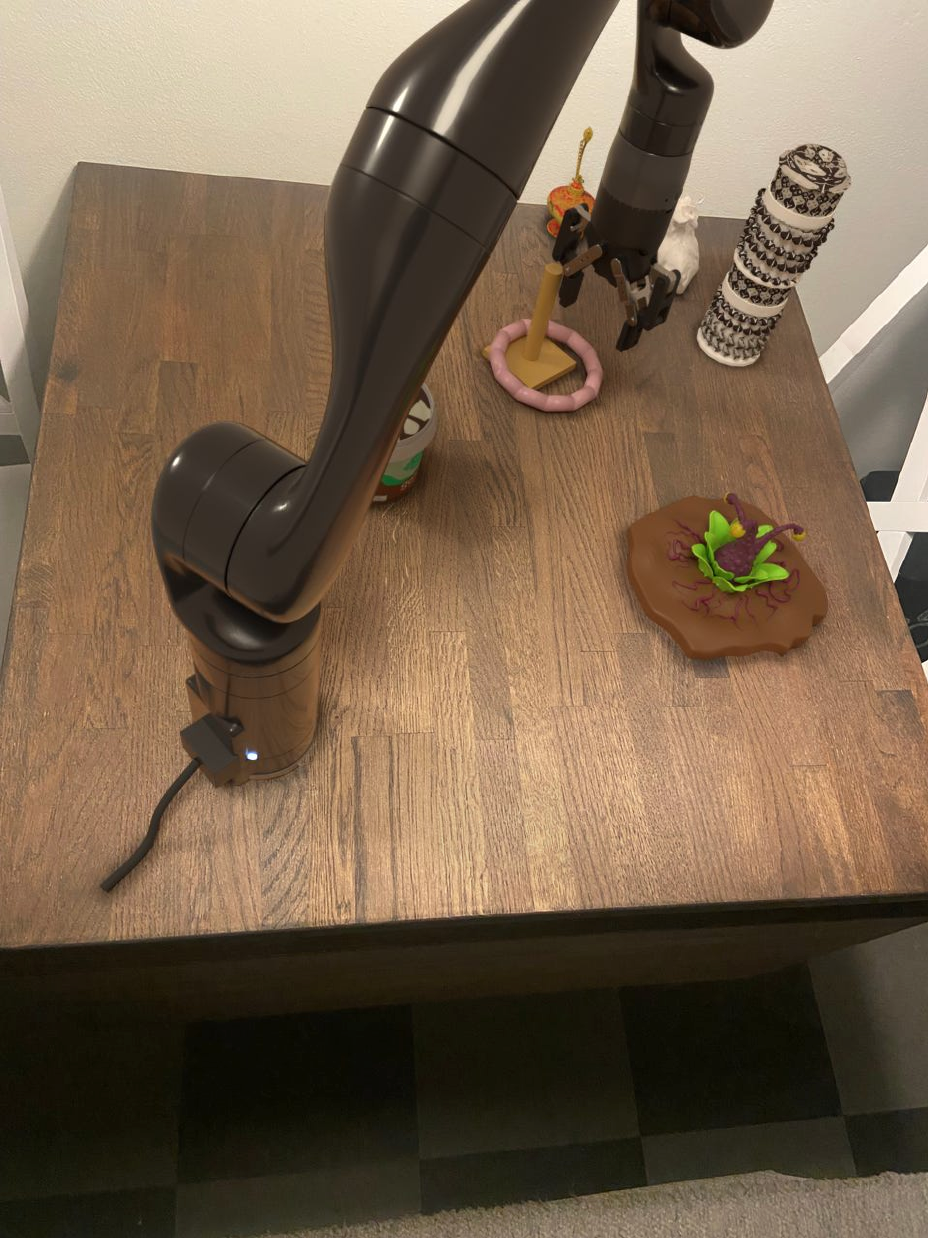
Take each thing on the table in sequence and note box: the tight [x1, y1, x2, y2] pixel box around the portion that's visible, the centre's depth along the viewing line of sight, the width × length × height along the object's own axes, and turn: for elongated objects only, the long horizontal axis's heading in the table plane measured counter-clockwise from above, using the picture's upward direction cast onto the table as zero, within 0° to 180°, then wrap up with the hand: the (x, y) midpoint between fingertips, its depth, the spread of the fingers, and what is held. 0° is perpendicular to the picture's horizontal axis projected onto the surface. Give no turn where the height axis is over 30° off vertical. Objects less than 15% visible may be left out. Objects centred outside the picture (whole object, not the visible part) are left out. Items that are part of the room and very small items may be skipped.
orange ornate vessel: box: [546, 126, 595, 240], centre depth 120 cm, size 7×18×11 cm, turn 172°
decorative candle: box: [696, 143, 852, 367], centre depth 107 cm, size 9×9×25 cm
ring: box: [488, 318, 605, 413], centre depth 107 cm, size 14×14×2 cm
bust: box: [658, 195, 700, 295], centre depth 120 cm, size 12×8×11 cm
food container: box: [371, 382, 438, 506], centre depth 92 cm, size 12×6×10 cm, turn 168°
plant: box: [626, 491, 829, 661], centre depth 90 cm, size 20×20×11 cm
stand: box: [481, 262, 577, 391], centre depth 104 cm, size 8×8×13 cm
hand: (595, 325), depth 98 cm, fingers open, 8 cm apart
